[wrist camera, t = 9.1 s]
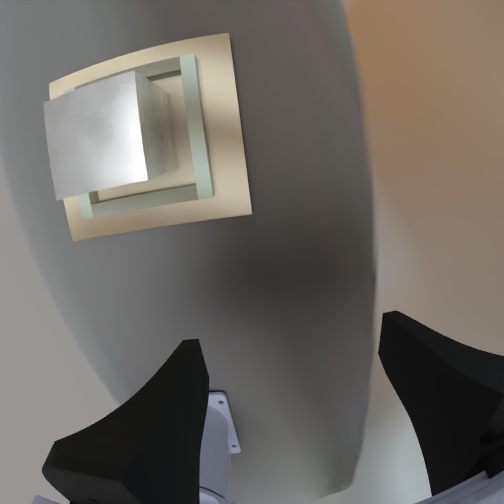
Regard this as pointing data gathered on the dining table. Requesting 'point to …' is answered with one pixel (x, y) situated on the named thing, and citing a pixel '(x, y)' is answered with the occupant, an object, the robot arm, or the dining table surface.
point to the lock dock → (186, 138)
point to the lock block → (109, 135)
